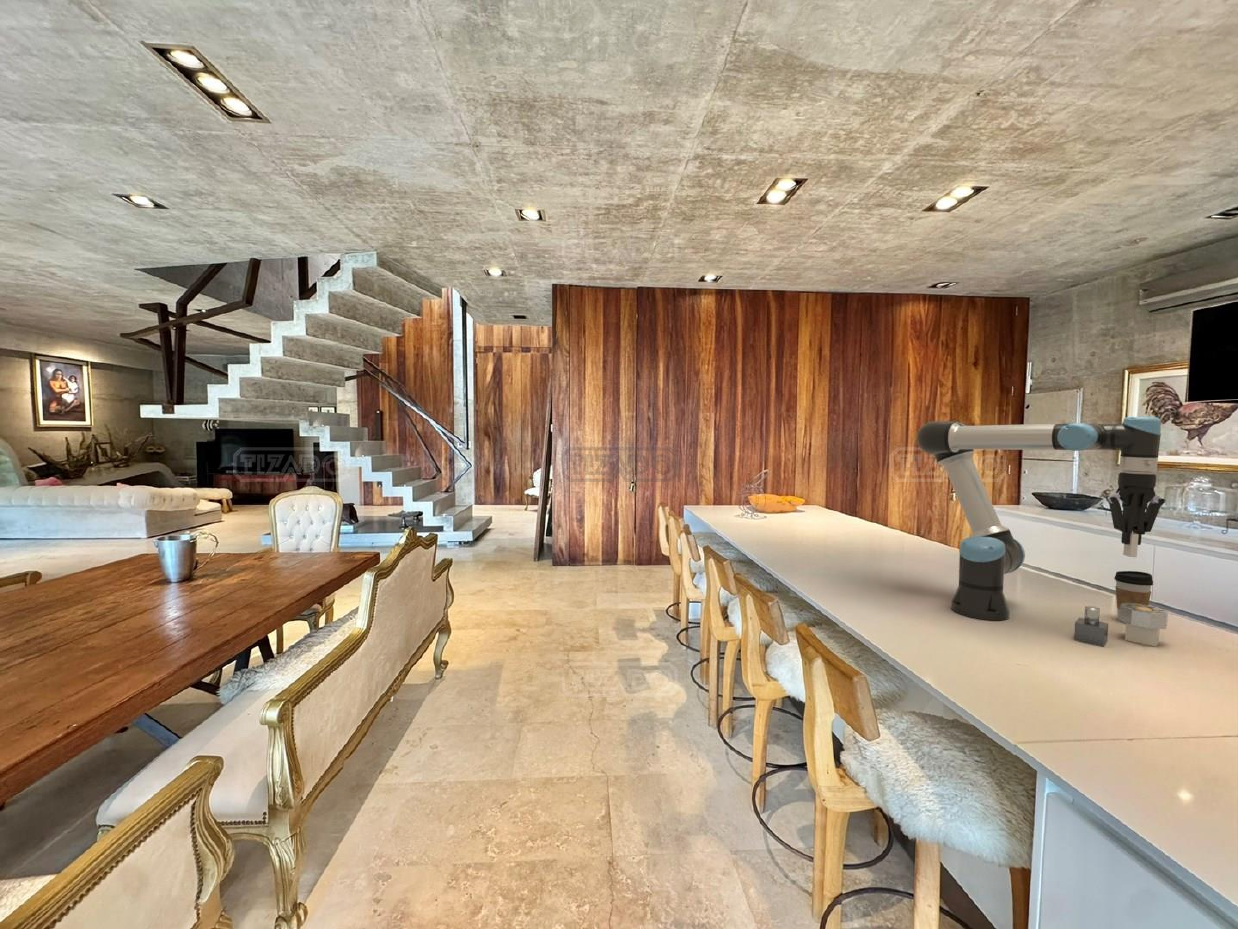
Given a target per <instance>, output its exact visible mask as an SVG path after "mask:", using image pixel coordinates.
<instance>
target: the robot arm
mask: <svg viewBox="0 0 1238 929" xmlns="http://www.w3.org/2000/svg"><path fill="white" fill-rule="evenodd" d="M1161 422H1162V420H1161V419H1160V418H1159V417H1155V416H1126V417H1124V418H1123V420H1122V422H1121V423H1115V424H1114V423H1085V422H1071V423H1070V422H1069V423H1038V424H1034V423H1033V424H1031V423H1029V424H993V425H992V424H991V425H985V424H984V425H965V424H963V423H960V422H958V421H955V420H954V421H953V420H946V421H942V420H941V421H940V420H933V421H929V422H926V423H925V424H924V425H922V426H921V427H920V428H919V430H918V431H917V434H916V443H917V445H918V447H919V448H920V449H921V450H922V451H923V452H924V453H926V454H929V455H932V456H934V458H935V460H936V463H937V464H938V465H940V466H942V467H943V468H944V469H945V471H946V473H947V475H948V478H949V481H950V483H951V485H952V487H953V491H954V492H955V495H956V497H957V499H958V502H959V504H960V506H961V509H962V511H963V513H964V516H965V518H966V521H967V523H968V525H969V527H970V529H971V534H970V536H969V537H966V538H964V539H962V540H961V541H960V544H959V545H960V547H959V549H958V553H959V563H958V568H959V569H958V586H957V588H956V591H955V593H954V595H953V598H952V599H951V604H950V605H951V606H950V608H951V610H953V611H954V612H955V613H957V614H960V615H962V616H966V617H970V618H972V619H978V620H984V621H985V620H986V621H987V620H988V621H1006V620H1008V619H1009V618H1010V609H1009V608H1010V607H1009V605H1008V603H1007V600H1006V597H1005V593H1004V581H1005V580H1004V578H1005V577H1004V576H1005V575H1006V574H1009V573H1010V574H1011V573H1013V572H1015V571H1016V570H1018V569H1019V568H1020V567H1021V566H1022V565H1023V563H1024V562H1025V559H1026V552H1025V549H1024V546H1023V545H1022V544H1021V543H1020V542H1019V541H1018V540H1017V539H1016V538H1014V536H1013V534H1012V533H1011V530H1010V528H1008V527H1005V525H1002V523H1001V521H1000V519H999V517H998V516H999V515H998V514H997V511H996V510H995V507H994V505H993V503H992V500H991V499H990V496H989V494H988V492H987V489H986V486H985V485H984V483H983V480H982V478H981V476H980V474H979V472H978V469H977V467H976V464H975V462H974V460H973V456H974V455H975V450H999V451H1001V450H1012V451H1013V450H1015V451H1016V450H1017V451H1018V450H1020V451H1021V450H1022V451H1023V450H1024V451H1025V450H1027V451H1028V450H1029V451H1031V450H1032V451H1033V450H1034V451H1037V450H1039V451H1044V450H1045V451H1047V450H1048V451H1072V452H1076V451H1077V452H1078V451H1079V452H1080V451H1081V452H1082V451H1088V450H1089V451H1090V450H1095V451H1098V450H1100V451H1120V457H1119V464H1118V470H1119V471H1120V472H1119V473H1118V478H1117V485H1118V488H1117V489H1116V492H1115V493H1114V494H1112V495H1106V496H1105V500H1106V501H1107V503H1108V504H1109V505H1108V506H1109V509H1110V514H1111V519H1112V525H1113V529H1114V530H1118V531H1120V532H1121V540H1120V541H1121V544H1123V551H1122V552H1123V556H1126V557H1129V558H1137V555H1138V547H1139V546H1141V544H1142V536H1143V535H1145V534H1146V533H1150V532H1151V531H1152V530H1153V526H1154V524H1155V523H1156V519H1157V517H1158V514H1159V512H1160V509H1161V507H1162V506H1163V505H1164V504H1165V502H1166V499H1165V498H1160V496H1158V495H1156V491H1155V487H1156V485H1157V475H1156V474H1155V473H1156V472H1157V471H1158V461H1159V452H1160V445H1161V444H1160V443H1161V438H1162V437H1161V435H1162V433H1161V425H1162V423H1161Z"/></svg>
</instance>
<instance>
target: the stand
mask: <svg viewBox="0 0 1238 929" xmlns="http://www.w3.org/2000/svg"><path fill="white" fill-rule="evenodd" d="M1100 613H1101V608H1099V607H1096V606H1093V605H1085V606H1084V617H1080V616H1079V617H1078V618H1077V619H1076V621H1075V622H1074V635H1073V636H1074V638H1073V640H1074V641H1077V642H1082V643H1084V644H1089V645H1090V644H1091V645H1093V646H1097V647H1098V646H1099V647H1103V648H1104V647H1105V646H1106V644H1107V643H1108V640H1109V639H1108V638H1109V623H1108V622H1103V621H1100V617H1101V616H1100Z"/></svg>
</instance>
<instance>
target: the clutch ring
mask: <svg viewBox="0 0 1238 929" xmlns="http://www.w3.org/2000/svg"><path fill="white" fill-rule="evenodd" d="M1136 607H1146V608H1150V609H1152V611H1144V610H1139V609H1136ZM1168 619H1169V611H1168V610H1165V609H1163V608H1160V607H1157V606H1152V605H1143V604H1137V603H1122V604H1121V605H1120V615H1119V620H1121V621H1123V622H1122V623H1124V622H1126V623H1128V624H1131V625H1135V626H1140V627H1145V628H1150V629H1160V630H1167V627H1168ZM1119 620H1118V621H1119ZM1121 621H1120V622H1121ZM1126 623H1125V624H1126Z"/></svg>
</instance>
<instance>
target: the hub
mask: <svg viewBox="0 0 1238 929" xmlns="http://www.w3.org/2000/svg"><path fill="white" fill-rule="evenodd" d="M1136 609H1139V610H1144V611H1152V609H1150V608H1146V607H1136ZM1160 630H1161V629H1150V628H1145V627H1140V626H1135V625H1131V624H1128V623H1125V638H1124V640H1125V641H1129V642H1132V643H1137V644H1142V645H1146V646H1150V647H1155V648H1156V647H1158V644H1159V642H1160Z"/></svg>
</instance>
